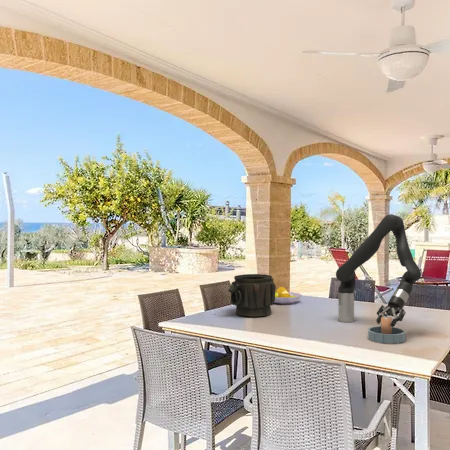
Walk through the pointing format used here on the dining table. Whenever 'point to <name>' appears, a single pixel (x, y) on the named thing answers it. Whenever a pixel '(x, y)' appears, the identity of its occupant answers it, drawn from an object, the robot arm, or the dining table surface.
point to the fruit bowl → (285, 296)
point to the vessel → (253, 294)
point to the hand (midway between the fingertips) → (384, 324)
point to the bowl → (386, 335)
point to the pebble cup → (386, 325)
